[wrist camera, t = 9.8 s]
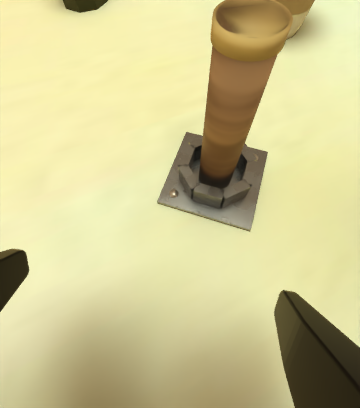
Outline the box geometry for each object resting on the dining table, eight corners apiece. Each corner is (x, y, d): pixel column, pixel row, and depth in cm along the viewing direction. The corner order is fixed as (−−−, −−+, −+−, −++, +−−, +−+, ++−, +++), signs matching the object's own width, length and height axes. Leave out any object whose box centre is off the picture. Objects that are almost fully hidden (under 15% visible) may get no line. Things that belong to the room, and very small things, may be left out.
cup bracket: (266, 154, 26) (275, 137, 24) (249, 231, 22) (258, 221, 20) (186, 134, 28) (186, 116, 25) (157, 203, 24) (154, 191, 21)
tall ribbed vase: (232, 192, 24) (297, 41, 10) (196, 190, 24) (210, 38, 10) (232, 162, 25) (288, -4, 12) (198, 160, 25) (214, -6, 12)
